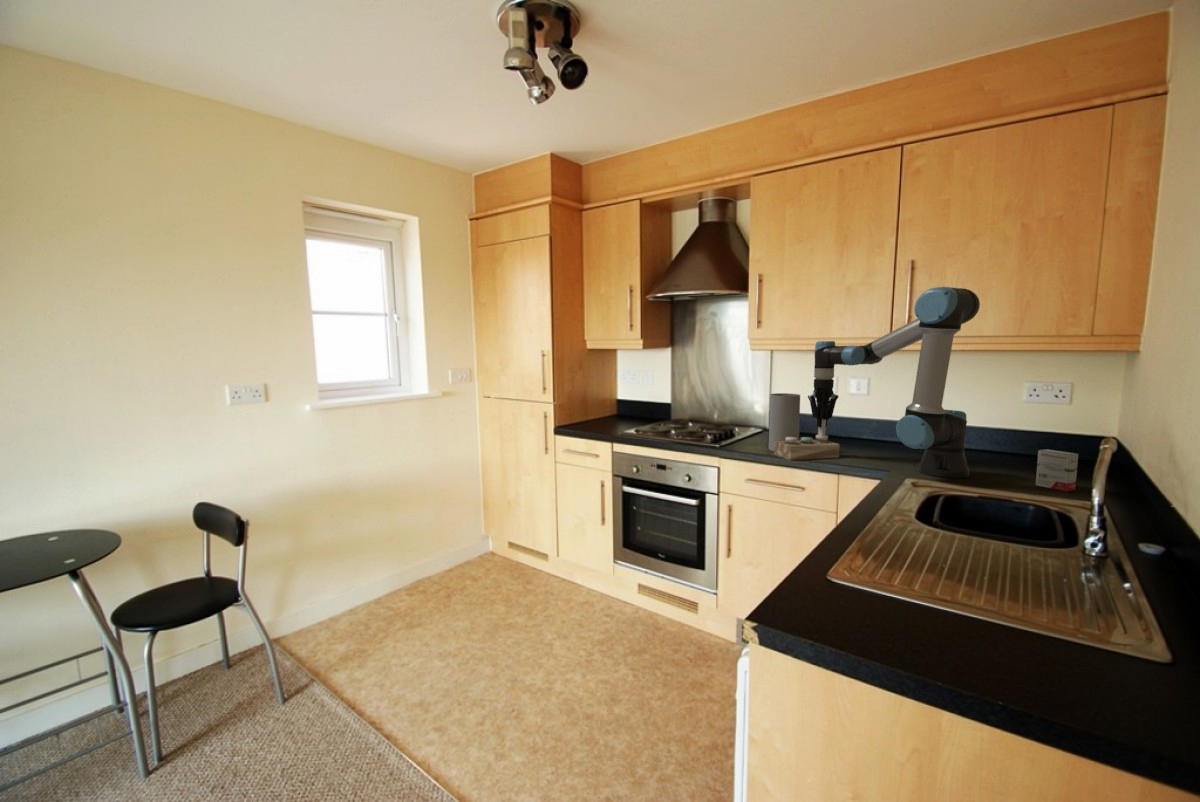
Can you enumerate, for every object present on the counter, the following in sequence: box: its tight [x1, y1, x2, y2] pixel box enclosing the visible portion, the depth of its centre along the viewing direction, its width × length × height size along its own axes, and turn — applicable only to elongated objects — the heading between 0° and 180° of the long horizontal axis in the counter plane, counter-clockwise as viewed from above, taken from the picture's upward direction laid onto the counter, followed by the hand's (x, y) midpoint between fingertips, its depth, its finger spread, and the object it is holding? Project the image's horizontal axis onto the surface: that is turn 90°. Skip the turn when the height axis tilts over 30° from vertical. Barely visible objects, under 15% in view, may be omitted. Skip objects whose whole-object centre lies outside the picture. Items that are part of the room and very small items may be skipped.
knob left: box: [785, 437, 797, 445], centre depth 209 cm, size 5×5×8 cm
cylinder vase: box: [768, 392, 801, 452], centre depth 223 cm, size 12×12×25 cm
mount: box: [773, 438, 841, 461], centre depth 211 cm, size 12×22×6 cm, turn 101°
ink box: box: [1035, 449, 1079, 492], centre depth 161 cm, size 8×5×12 cm, turn 23°
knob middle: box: [800, 436, 813, 444], centre depth 211 cm, size 5×5×8 cm
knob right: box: [815, 434, 829, 443], centre depth 212 cm, size 5×5×8 cm
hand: (821, 434), depth 212 cm, fingers closed
